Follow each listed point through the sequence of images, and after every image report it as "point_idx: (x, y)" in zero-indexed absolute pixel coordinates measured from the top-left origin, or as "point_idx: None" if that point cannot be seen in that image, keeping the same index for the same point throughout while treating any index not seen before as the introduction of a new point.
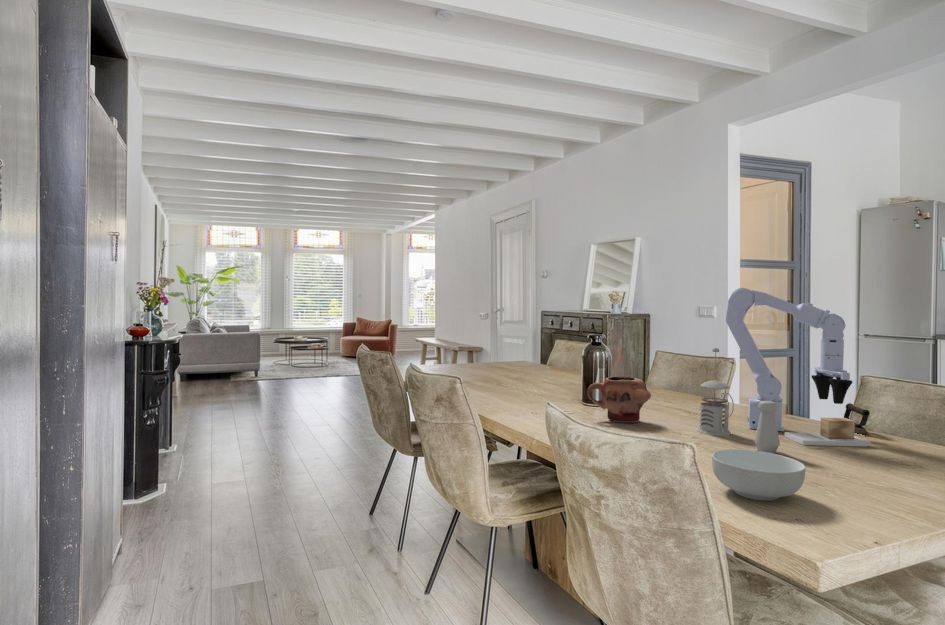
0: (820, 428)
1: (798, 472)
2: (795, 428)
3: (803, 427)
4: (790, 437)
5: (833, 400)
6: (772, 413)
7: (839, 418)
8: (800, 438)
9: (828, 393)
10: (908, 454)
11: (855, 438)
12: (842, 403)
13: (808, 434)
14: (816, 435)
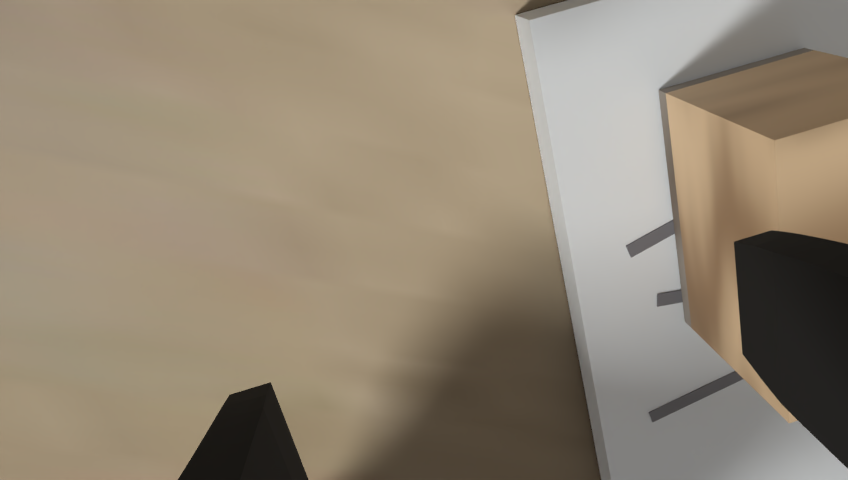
0: (720, 355)
1: None
2: (187, 431)
3: (78, 354)
4: None
5: (776, 392)
6: None
7: (810, 231)
8: (832, 476)
9: (255, 443)
10: None
11: (763, 20)
12: (781, 233)
13: (674, 407)
14: (697, 352)
